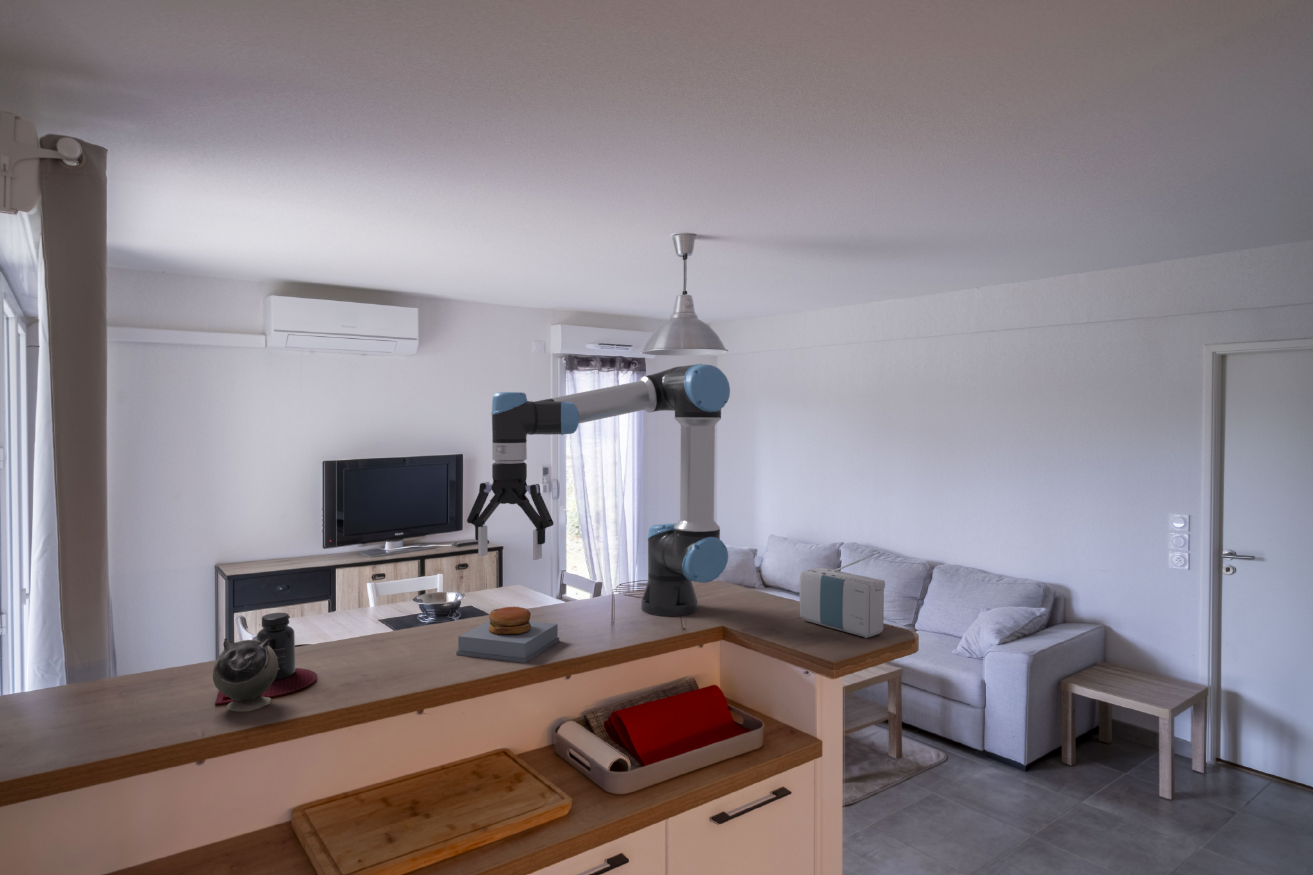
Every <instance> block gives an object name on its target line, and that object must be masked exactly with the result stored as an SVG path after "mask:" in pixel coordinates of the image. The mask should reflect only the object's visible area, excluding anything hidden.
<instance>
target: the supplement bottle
mask: <svg viewBox="0 0 1313 875" xmlns="http://www.w3.org/2000/svg"><path fill="white" fill-rule="evenodd" d="M289 617H290V615H289V613H286V612H272V613H268V614H264V615H263V616H261V629H260V630H259V631H258V633H257V634H256V638H255V640H257V641H261V642H262V641H263V639H264V638H266V637H270V638H271V642H270V645H268V646H269V647H271V648H272V649H273V651H274V652H275V654H276V656H277V660H278V671H277V675H276V677H275V679H274V681H277V680H283V679H286V678H288V677H291V676H292V675H293V674H294V673H295V672H296V651H295V650H296V642H295V641H296V640H295V638H296V637H295V634H296V633H295V629H294V628H293V627H292V626H290V625H289V624H290V618H289Z"/></svg>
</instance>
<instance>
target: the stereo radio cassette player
mask: <svg viewBox="0 0 1313 875" xmlns="http://www.w3.org/2000/svg"><path fill="white" fill-rule="evenodd" d="M879 554H881V552H880V551H877V552H876V553H873V554H870V555H868V556H866V557H863V558H860V559H858V560H855V561H853V562H850V563H848V564H846V565H843V566H841V567H838V568H836V569H830V568H825V567H816V568H815V567H814V568H810V569H804V570H801V571H800V577H799V614H800V615H799V617H800V618H801V619H803V620H804V621H805V622H806V623H808V622H810V623H813V624H817V625H820V626H823V627H827V628H830V629H835V630H838V631H841V632H845V633H849V634H852V635H855V636H859V637H863V638H865V639H869V638H871V637H875V636H876V635H880V634H881V633H882V632H883V631H884V620H885V619H884V616H885V615H884V611H885V610H884V606H885V603H884V602H885V588H886V581H885V579H879V578H875V577H870V576H869V577H868V576H865V575H860V574H854V573H849V572H844V571H841V570H843V569H845V568H848V567H849V566H853V565H855V564H858V563H859V562H861V561H864V560H866V559H868V558H871V557H873V556H875V555H879Z"/></svg>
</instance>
